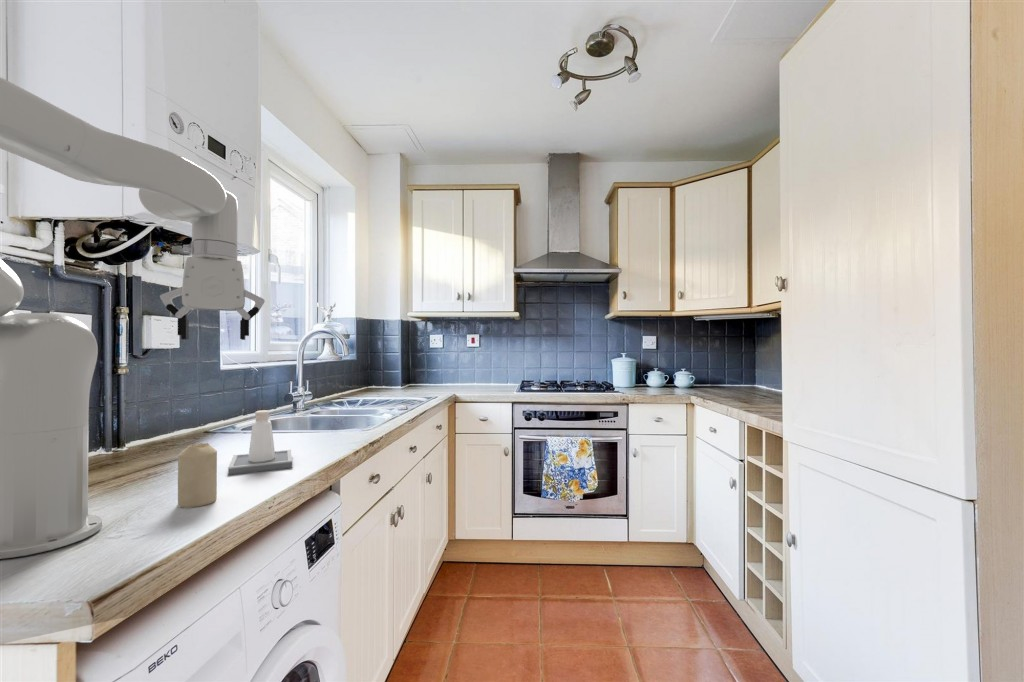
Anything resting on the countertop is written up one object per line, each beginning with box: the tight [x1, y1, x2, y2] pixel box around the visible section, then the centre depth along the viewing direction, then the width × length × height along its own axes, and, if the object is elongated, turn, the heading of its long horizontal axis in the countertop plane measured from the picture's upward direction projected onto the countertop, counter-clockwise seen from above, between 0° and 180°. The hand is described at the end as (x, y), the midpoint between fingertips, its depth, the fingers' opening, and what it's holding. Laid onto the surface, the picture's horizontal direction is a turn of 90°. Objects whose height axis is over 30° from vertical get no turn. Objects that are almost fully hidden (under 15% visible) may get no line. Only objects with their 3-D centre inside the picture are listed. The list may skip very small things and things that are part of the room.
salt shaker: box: [248, 409, 275, 462], centre depth 102 cm, size 5×5×11 cm
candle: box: [177, 442, 218, 509], centre depth 78 cm, size 6×6×10 cm
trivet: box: [227, 449, 293, 476], centre depth 102 cm, size 12×12×2 cm
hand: (214, 339), depth 89 cm, fingers open, 9 cm apart
